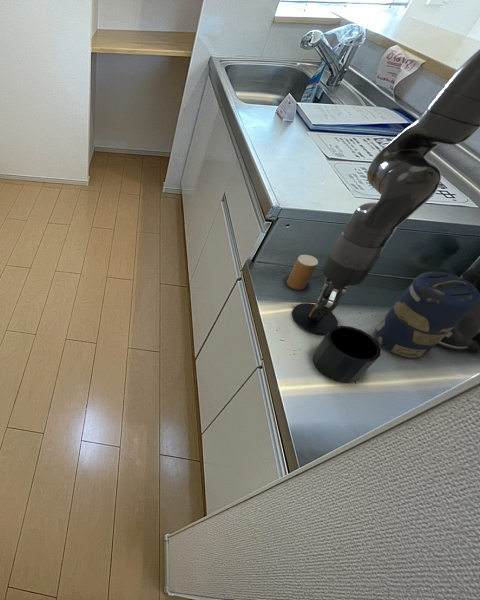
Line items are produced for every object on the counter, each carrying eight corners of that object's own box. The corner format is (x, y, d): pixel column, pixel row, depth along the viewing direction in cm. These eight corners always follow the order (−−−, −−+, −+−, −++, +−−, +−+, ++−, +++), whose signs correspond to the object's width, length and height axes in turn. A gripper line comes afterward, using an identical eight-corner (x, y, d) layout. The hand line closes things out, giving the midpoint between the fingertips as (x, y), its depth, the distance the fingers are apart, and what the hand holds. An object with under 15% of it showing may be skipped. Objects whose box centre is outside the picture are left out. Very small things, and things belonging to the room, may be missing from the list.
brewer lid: (338, 315, 82) (351, 297, 78) (332, 341, 77) (345, 323, 72) (295, 301, 86) (304, 283, 82) (286, 325, 81) (296, 307, 76)
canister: (433, 363, 71) (502, 301, 58) (381, 357, 73) (437, 296, 60) (412, 328, 78) (470, 266, 65) (364, 324, 79) (411, 263, 67)
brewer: (363, 359, 73) (382, 336, 68) (358, 390, 68) (379, 368, 63) (316, 342, 77) (331, 319, 72) (308, 370, 72) (324, 348, 67)
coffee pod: (306, 282, 91) (319, 258, 85) (303, 292, 88) (316, 267, 83) (288, 276, 93) (300, 252, 87) (284, 286, 90) (296, 262, 84)
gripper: (372, 282, 62) (329, 342, 75) (378, 243, 70) (338, 303, 82) (325, 269, 66) (291, 328, 78) (335, 233, 74) (304, 292, 86)
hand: (316, 315), depth 80 cm, fingers closed on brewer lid, 2 cm apart
